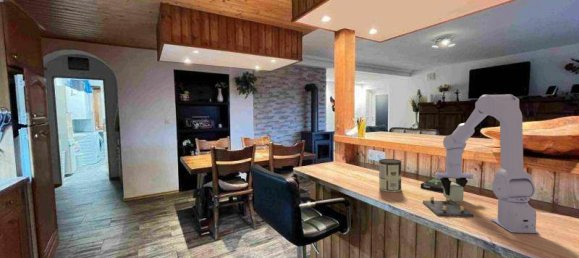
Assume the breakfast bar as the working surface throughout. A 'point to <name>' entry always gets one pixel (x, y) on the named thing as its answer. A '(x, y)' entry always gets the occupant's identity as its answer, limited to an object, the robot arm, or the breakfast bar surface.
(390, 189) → the coffee can
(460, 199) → the block
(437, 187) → the disk drive
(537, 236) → the breakfast bar surface
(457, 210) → the plate
